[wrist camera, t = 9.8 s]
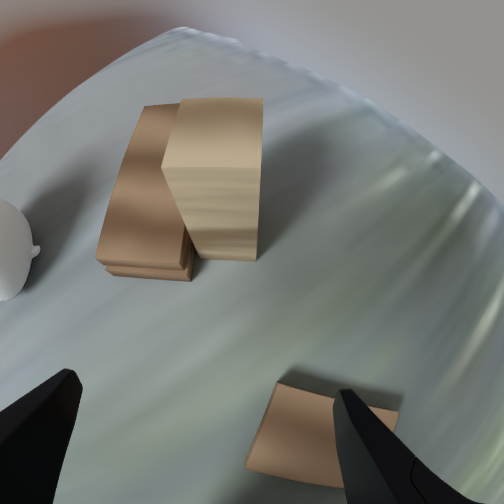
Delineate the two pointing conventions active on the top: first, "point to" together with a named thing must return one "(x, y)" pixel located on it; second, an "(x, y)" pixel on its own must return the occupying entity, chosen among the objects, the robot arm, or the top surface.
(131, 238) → the plank stack
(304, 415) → the loose offcut
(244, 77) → the top surface
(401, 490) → the robot arm
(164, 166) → the upright offcut
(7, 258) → the figurine
